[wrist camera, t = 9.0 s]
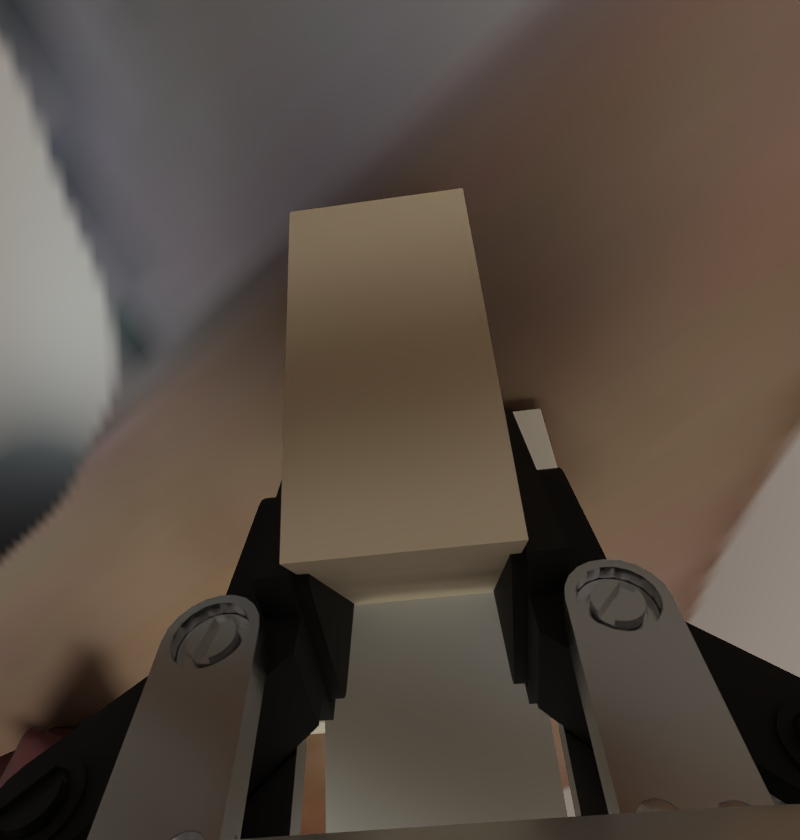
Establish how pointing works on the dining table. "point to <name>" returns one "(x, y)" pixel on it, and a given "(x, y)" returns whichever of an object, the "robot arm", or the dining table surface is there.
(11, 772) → the icecream
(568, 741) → the robot arm
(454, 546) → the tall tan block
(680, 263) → the dining table surface
